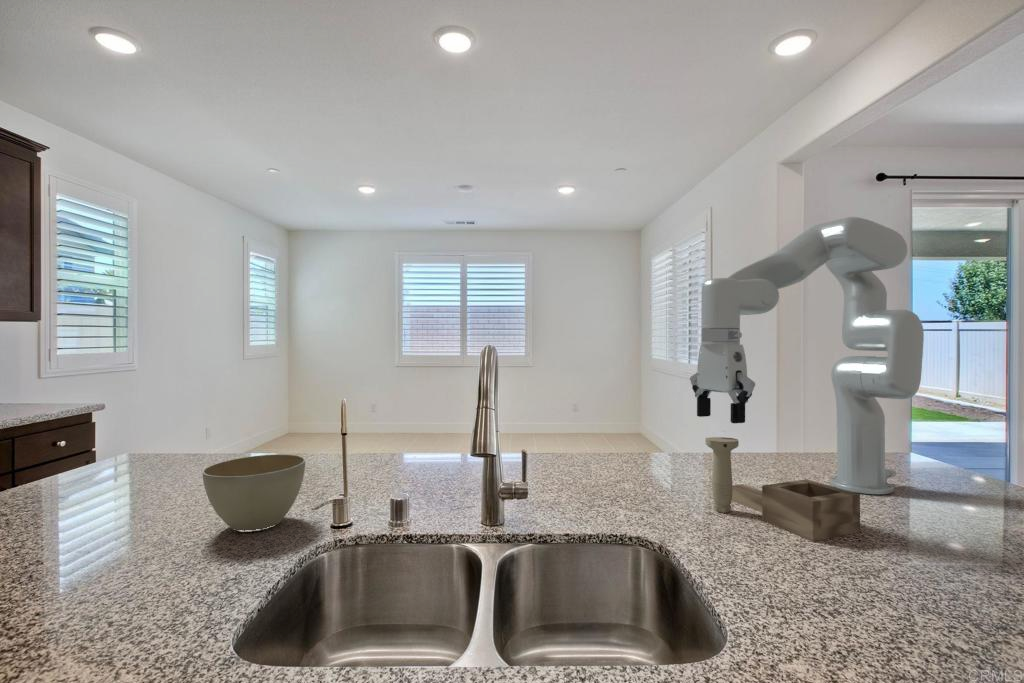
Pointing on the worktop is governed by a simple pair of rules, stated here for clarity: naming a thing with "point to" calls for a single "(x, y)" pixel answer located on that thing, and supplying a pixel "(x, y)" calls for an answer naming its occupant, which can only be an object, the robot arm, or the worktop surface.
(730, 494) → the handle
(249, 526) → the olive grey bowl
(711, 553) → the worktop surface
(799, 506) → the wooden box scoop
